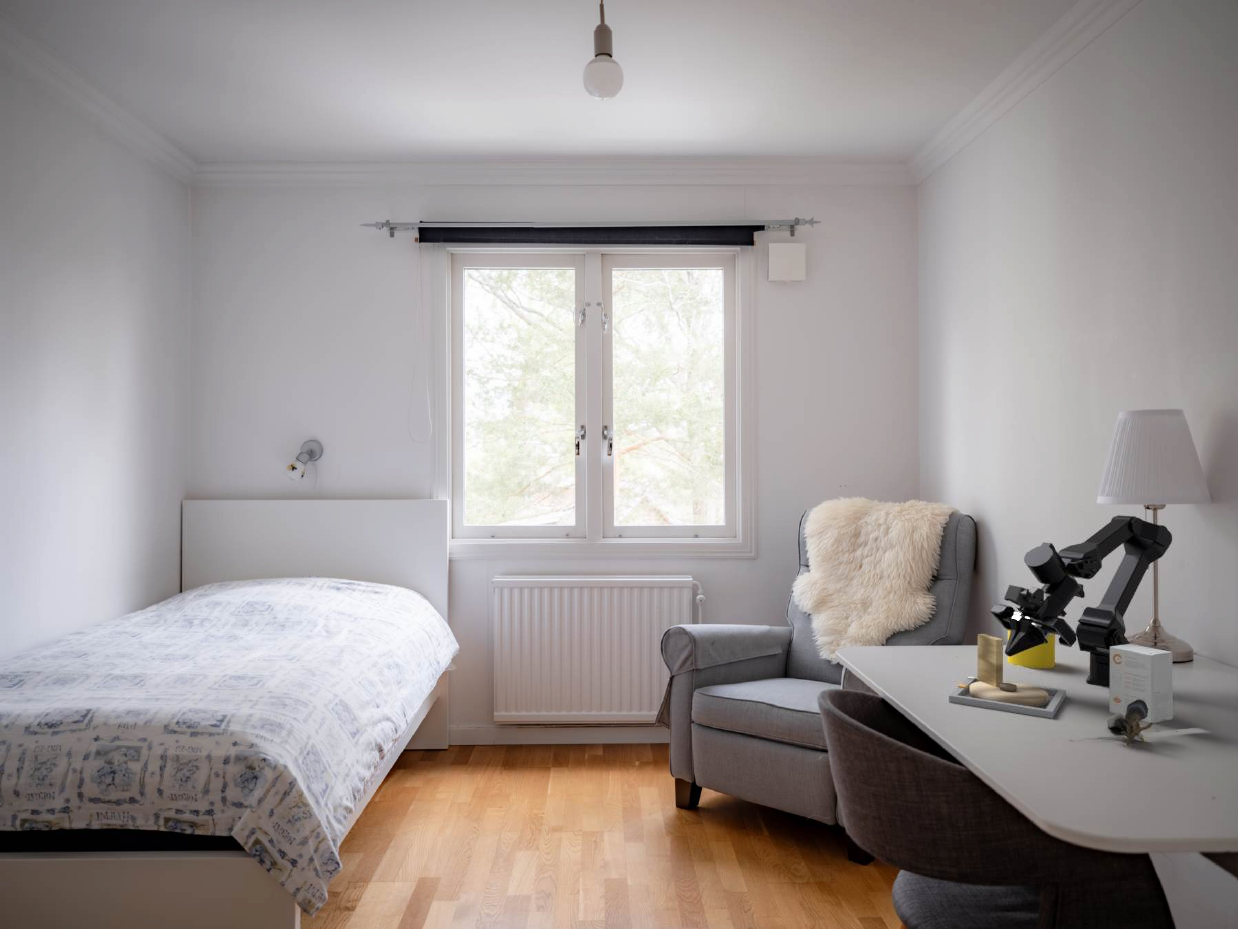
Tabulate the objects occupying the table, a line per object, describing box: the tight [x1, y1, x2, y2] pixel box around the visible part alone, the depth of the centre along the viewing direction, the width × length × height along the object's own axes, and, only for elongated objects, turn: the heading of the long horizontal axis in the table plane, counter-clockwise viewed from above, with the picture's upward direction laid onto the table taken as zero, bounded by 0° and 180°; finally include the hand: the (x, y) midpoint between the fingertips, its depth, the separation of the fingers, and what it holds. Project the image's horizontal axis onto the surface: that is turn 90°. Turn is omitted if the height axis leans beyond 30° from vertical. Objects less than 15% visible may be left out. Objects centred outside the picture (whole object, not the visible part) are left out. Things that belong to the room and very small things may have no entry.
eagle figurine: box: [1106, 699, 1154, 746], centre depth 145 cm, size 8×7×9 cm
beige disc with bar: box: [970, 633, 1048, 708], centre depth 166 cm, size 15×14×11 cm
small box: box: [1109, 643, 1174, 724], centre depth 156 cm, size 8×6×13 cm
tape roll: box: [1007, 630, 1056, 669], centre depth 199 cm, size 10×10×9 cm
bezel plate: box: [948, 676, 1067, 720], centre depth 166 cm, size 18×18×2 cm
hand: (1007, 654), depth 172 cm, fingers closed
